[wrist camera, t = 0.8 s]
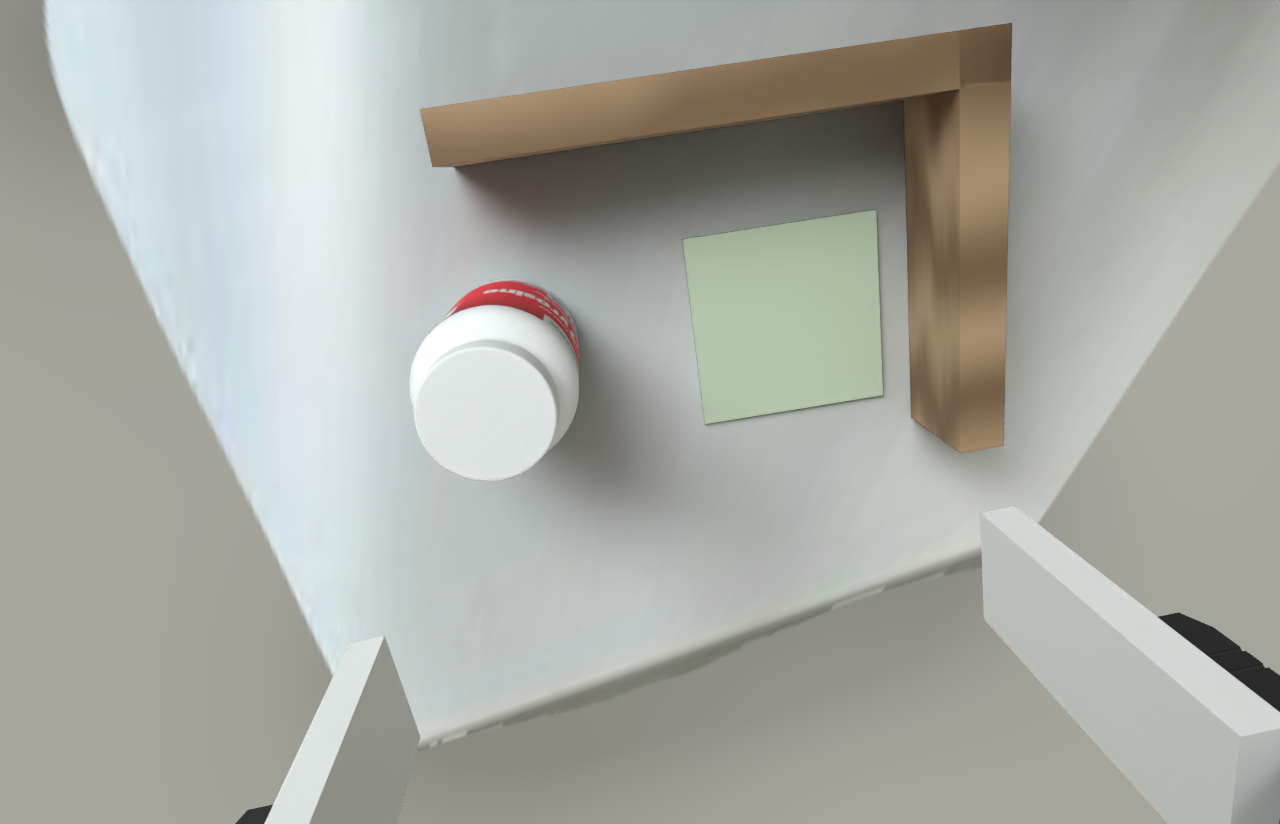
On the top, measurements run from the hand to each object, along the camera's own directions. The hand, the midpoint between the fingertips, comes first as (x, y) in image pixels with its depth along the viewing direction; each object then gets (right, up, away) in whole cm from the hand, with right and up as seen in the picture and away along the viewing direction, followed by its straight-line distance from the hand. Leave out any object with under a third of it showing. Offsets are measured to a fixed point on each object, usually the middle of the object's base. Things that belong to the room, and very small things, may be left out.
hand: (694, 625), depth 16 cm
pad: (+6, +9, +19) cm, 22 cm away
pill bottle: (-7, +8, +19) cm, 22 cm away
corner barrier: (+2, +11, +18) cm, 22 cm away
